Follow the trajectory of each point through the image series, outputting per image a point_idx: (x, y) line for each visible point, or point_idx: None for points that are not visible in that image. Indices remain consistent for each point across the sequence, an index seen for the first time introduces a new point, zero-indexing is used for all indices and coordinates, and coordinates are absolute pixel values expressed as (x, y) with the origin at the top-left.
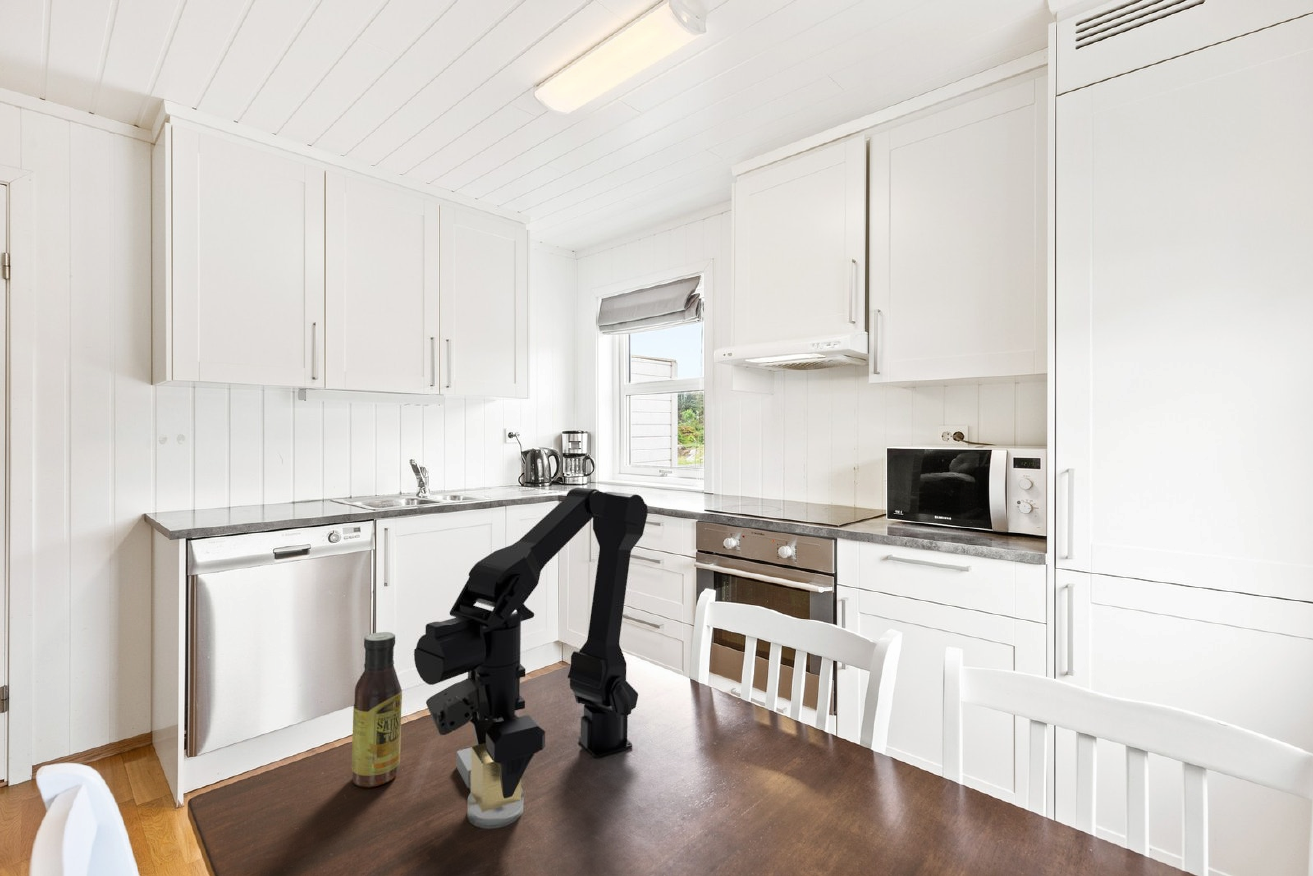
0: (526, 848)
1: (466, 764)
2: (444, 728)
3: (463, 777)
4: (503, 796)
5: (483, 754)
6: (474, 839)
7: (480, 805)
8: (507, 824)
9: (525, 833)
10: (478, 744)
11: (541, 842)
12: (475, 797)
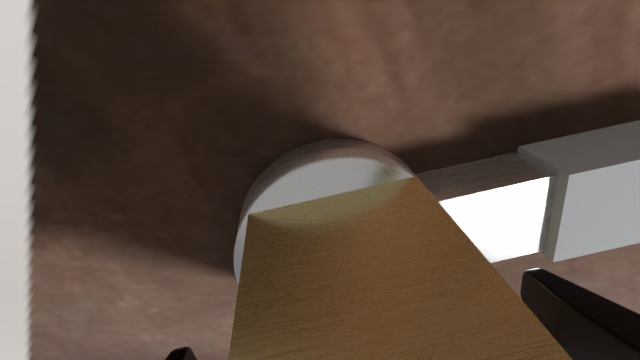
0: (114, 295)
1: (623, 171)
2: None
3: (585, 137)
4: (171, 355)
5: None
6: (190, 156)
7: (274, 217)
8: None
9: (191, 296)
10: (632, 343)
11: (139, 328)
12: (348, 198)
